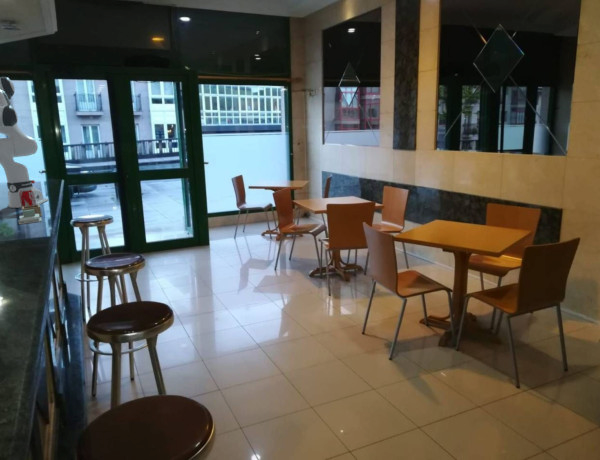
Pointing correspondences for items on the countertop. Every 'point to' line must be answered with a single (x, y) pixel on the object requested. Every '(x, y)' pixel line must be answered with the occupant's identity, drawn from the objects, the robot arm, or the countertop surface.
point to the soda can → (27, 197)
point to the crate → (35, 207)
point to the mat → (30, 221)
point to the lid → (29, 216)
